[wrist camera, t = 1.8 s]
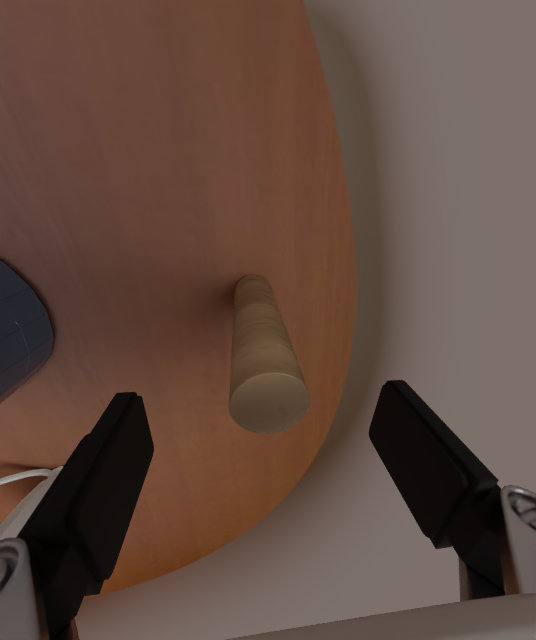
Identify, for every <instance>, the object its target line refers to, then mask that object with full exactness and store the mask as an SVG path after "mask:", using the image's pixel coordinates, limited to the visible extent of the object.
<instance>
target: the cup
mask: <svg viewBox="0 0 536 640" xmlns="http://www.w3.org/2000/svg"><path fill="white" fill-rule="evenodd" d="M63 467H64V466H59V467H57V468H55V469H53V470H49V469H37V470H30V471H26V472H22V473H18V474H14V475H10V476H7V477H3V478H1V479H0V485H1V484H4V483H7V482H11V481H14V480H18V479H21V478H25V477H30V476H38V475H43V476H47V477H48V479H46V480H44V481H42V482H41V483H39V484H38V485H37V486H36V487H35V488H34V489H33V490H32V491H31V492H30V493H29V494H28V495H27V496H26V497H25V498H24V499H23V500H22V501H21V502H20V503H19V504H18V505H17V506H16V507H15V508H14V509H13V511H12V512H11V513H10V514H9V515H8V516H7V517H6V518H5V519H4V521H3V522H2V523H1V524H0V540H2V539H5V538H16V537H17V535H18V534H19V532H20V531H21V529H22V528H23V526H24V525H25V523H26V522H27V520H28V519H29V517H30V516H31V514H32V513H33V511H34V510H35V508H36V507H37V505H38V504H39V502H40V501H41V499H42V498H43V496H44V495H45V493H46V492H47V490H48V489H49V487H50V486H51V484H52V483H53V481H54V480H55V478H56V477H57V475H58V474H59V472H60V471H61V469H62V468H63Z"/></svg>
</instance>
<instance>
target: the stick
mask: <svg viewBox="0 0 536 640" xmlns="http://www.w3.org/2000/svg"><path fill="white" fill-rule="evenodd" d="M309 405H310V394H309V391H308V388H307V385H306V382H305V379H304V377H303V374H302V371H301V368H300V366H299V363H298V360H297V357H296V355H295V352H294V349H293V346H292V344H291V341H290V338H289V335H288V333H287V330H286V327H285V324H284V322H283V319H282V316H281V313H280V311H279V308H278V305H277V302H276V300H275V297H274V294H273V291H272V289H271V286H270V284H269V282H268V281H267V280H266V279H265V278H263V277H261V276H259V275H248V276H245V277H243V278H242V279H241V280H240V281H239V282H238V283H237V285H236V288H235V298H234V317H233V336H232V355H231V374H230V393H229V411H230V414H231V416H232V418H233V420H234V421H235V422H236V423H237V424H238V425H239V426H240V427H242V428H244V429H245V430H248V431H251V432H254V433H262V434H269V433H276V432H280V431H283V430H286V429H288V428H290V427H292V426H294V425H295V424H297V423H298V422H299V421H300V420H301V419H302V418H303V417H304V416H305V414H306V413H307V411H308V408H309Z"/></svg>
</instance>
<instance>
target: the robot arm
mask: <svg viewBox="0 0 536 640" xmlns="http://www.w3.org/2000/svg"><path fill="white" fill-rule="evenodd" d="M369 437H370V440H371V442H372V443H373V445H374V447H375V449H376V451H377V452H378V454H379V456H380V458H381V460H382V461H383V463H384V465H385V467H386V469H387V470H388V472H389V474H390V476H391V477H392V479H393V481H394V483H395V485H396V486H397V488H398V490H399V492H400V493H401V495H402V497H403V499H404V500H405V502H406V504H407V506H408V508H409V509H410V511H411V513H412V515H413V516H414V518H415V520H416V522H417V523H418V525H419V527H420V529H421V531H422V532H423V534H424V535H425V536H426V537H428V538H430V540H431V541H432V543H433V545H434V547H435V548H436V549H440V548H447V547H451V546H453V548H454V549H455V551H456V552H457V554H458V556H459V580H460V602H454V603H448V604H442V605H435V606H429V607H423V608H416V609H410V610H403V611H397V612H391V613H385V614H378V615H372V616H366V617H359V618H354V619H347V620H342V621H335V622H329V623H323V624H317V625H310V626H304V627H299V628H292V629H286V630H280V631H274V632H268V633H261V634H256V635H250V636H244V637H238V638H232V639H227V640H536V494H535V493H533V492H531V491H529V490H527V489H524V488H522V487H519V486H512V485H508V486H504V487H503V488H502V489H501V488H500V487H499V486H498V485H497V482H498V479H497V478H496V477H495V476H494V475H493V474H492V473H491V472H490V471H489V470H488V469H487V468H486V466H485V465H484V464H483V463H482V462H480V460H479V459H478V458H477V457H476V456H475V455H474V454H473V453H472V452H471V451H470V450H469V449H468V448H467V446H466V445H465V444H464V443H463V442H462V441H461V440H460V439H459V438H458V437H457V436H456V435H455V434H454V433H453V432H452V431H451V430H450V429H449V427H448V426H447V425H446V424H445V423H444V422H443V421H442V420H441V419H440V418H439V417H438V416H437V415H436V414H435V413H434V411H433V410H432V409H431V408H429V406H428V405H427V404H426V403H425V402H424V401H423V400H422V399H421V398H420V397H419V396H418V395H417V394H416V392H415V391H414V390H413V389H412V388H411V387H410V386H409V385H408V384H407V383H406V382H405V381H403V380H392V381H387V382H386V384H385V385H383V386H382V389H381V392H380V396H379V399H378V402H377V405H376V409H375V412H374V415H373V419H372V422H371V425H370V429H369ZM153 452H154V445H153V441H152V437H151V432H150V428H149V424H148V420H147V416H146V412H145V407H144V403H143V399H142V397H141V396H137V393H136V392H124V393H117V394H116V395H115V396H114V397H113V399H112V401H111V402H110V404H109V405H108V407H107V408H106V410H105V411H104V413H103V414H102V416H101V417H100V419H99V420H98V422H97V424H96V425H95V427H94V428H93V430H92V431H91V433H90V434H87V435H86V436H84V438H83V439H82V440H81V441H80V443H79V444H78V446H77V447H76V449H75V450H74V452H73V453H72V455H71V456H70V458H69V459H68V461H67V462H66V464H65V465H64V467H63V468H62V469H61V471H60V472H59V474H58V475H57V477H56V478H55V480H54V481H53V483H52V484H51V486H50V487H49V489H48V490H47V492H46V493H45V495H44V496H43V498H42V499H41V501H40V502H39V504H38V505H37V507H36V508H35V510H34V511H33V513H32V514H31V516H30V517H29V519H28V520H27V522H26V523H25V525H24V526H23V528H22V529H21V531H20V532H19V534H18V535H17V537H16V538H5V539H2V540H0V640H79V636H78V631H77V627H76V622H75V618H74V617H75V616H76V615H77V612H78V610H79V608H80V605H81V603H82V600H83V598H84V596H89V595H96V594H99V593H100V591H101V588H102V585H103V582H104V580H106V579H109V578H110V576H111V575H112V573H113V570H114V568H115V565H116V562H117V559H118V556H119V553H120V550H121V547H122V544H123V541H124V538H125V535H126V532H127V530H128V527H129V524H130V521H131V518H132V515H133V512H134V509H135V506H136V503H137V500H138V497H139V495H140V492H141V489H142V486H143V483H144V480H145V477H146V474H147V471H148V468H149V465H150V462H151V460H152V457H153Z"/></svg>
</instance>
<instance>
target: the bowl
mask: <svg viewBox="0 0 536 640" xmlns="http://www.w3.org/2000/svg"><path fill="white" fill-rule="evenodd" d="M53 338H54V336H53V331H52V327H51V324H50V320H49V316H48V313H47V311H46V309H45V308H44V306H43V305H42V303H41V302H40V300H39V299H38V297H37V295H36V294H35V292H34V291H33V289H32V288H31V287H30V286H29V285H28V284H27V283H26V282H25V281H24V280H22V279H21V278H20V277H19V276H18V275H17V274H16V273H15V272H14V271H13V270H12V269H11V268H10V267H8V266H7V265H6V264H4V262H2V261H0V404H1V403H2V402H3V401H4V400H5V399H6V398H8V397H9V396H10V395H11V394H12V393H14V392H15V391H16V390H17V389H18V388H19V387H21V386H22V385H23V384H24V383H25V382H27V381H28V380H29V379H30V378H31V377H32V376H34V375H35V374H36V373H37V372H38V371H39V370H40V369H41V368H42V367H43V365H44V364H45V362H46V361H47V360H48V358H49V357H50V355H51V351H52V344H53Z"/></svg>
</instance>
